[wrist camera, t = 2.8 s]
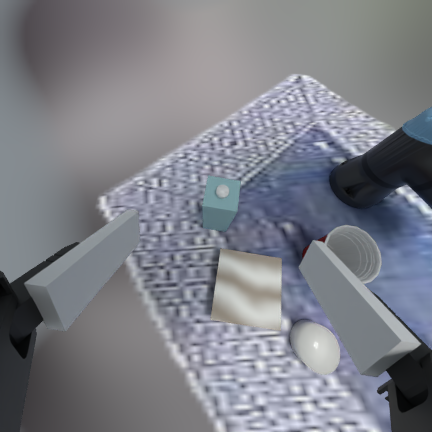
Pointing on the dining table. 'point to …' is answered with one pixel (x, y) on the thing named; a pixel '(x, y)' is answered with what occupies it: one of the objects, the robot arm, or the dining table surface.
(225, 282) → the podium
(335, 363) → the white oval pebble
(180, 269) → the dining table surface
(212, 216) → the carton
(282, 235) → the dining table surface
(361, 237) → the plastic cup
